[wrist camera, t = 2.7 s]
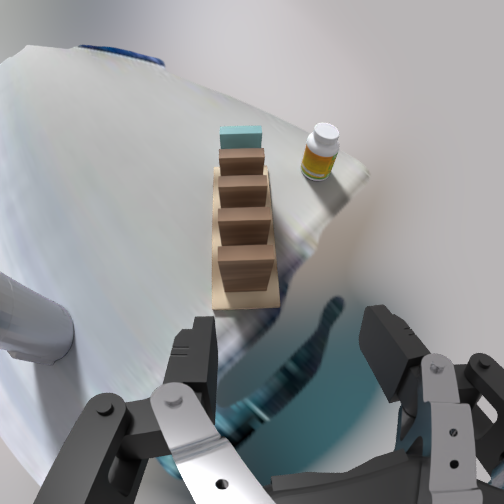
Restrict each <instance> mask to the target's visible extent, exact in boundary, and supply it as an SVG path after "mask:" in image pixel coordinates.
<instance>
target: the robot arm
mask: <svg viewBox="0 0 504 504" xmlns="http://www.w3.org/2000/svg"><path fill="white" fill-rule="evenodd" d="M73 335H74V331H73V322H72V319H71V316H70V315H69V313H68V311H67V310H66V309H65V308H64V307H63V306H61V305H59V304H57V303H56V302H54V301H52V300H49V299H48V298H46V297H44V296H42V295H40V294H38V293H36V292H35V291H33V290H31V289H29V288H27V287H25V286H24V285H22V284H20V283H18V282H17V281H15V280H13V279H12V278H10V277H8V276H7V275H5V274H3V273H2V272H0V349H3V350H7V352H8V353H9V354H10V356H11V357H12V358H14V359H19V360H24V361H29V362H34V363H40V364H46V365H53V363H54V361H55V360H58V359H60V358H62V357H63V356H64V355H65V354H66V353H67V352H68V350H69V349H70V347H71V344H72V341H73ZM359 345H360V349H361V351H362V353H363V355H364V356H365V358H366V360H367V362H368V364H369V366H370V368H371V369H372V371H373V373H374V375H375V377H376V379H377V381H378V382H379V384H380V386H381V388H382V390H383V392H384V394H385V396H386V397H387V400H388V401H389V403H392V402H396V401H401V406H400V408H399V412H398V425H397V435H396V444H395V449H394V451H393V452H390V453H387V454H384V455H381V456H378V457H375V458H373V459H371V460H369V461H367V462H365V463H363V464H362V465H360V466H358V467H356V468H354V469H352V470H350V471H348V472H344V473H317V472H305V473H298V474H289V475H280V476H272V477H271V484H269V485H266V486H263V487H262V486H261V485H260V483H259V482H258V481H257V480H256V478H255V477H254V476H253V474H252V473H251V472H250V470H249V469H248V467H247V466H246V465H245V463H244V462H243V461H242V459H241V458H240V456H239V455H238V454H237V452H236V451H235V449H234V448H233V446H232V445H231V443H230V442H229V441H228V440H227V438H225V437H224V436H223V437H221V436H220V434H219V433H218V431H217V430H216V428H215V427H214V425H215V412H216V390H217V371H218V346H217V337H216V328H215V319H214V316H206V317H195V319H194V324H193V329H182V330H181V331H180V332H179V333H178V335H177V336H176V337H175V339H174V343H173V348H172V350H171V356H170V358H169V362H168V366H167V370H166V373H165V377H164V381H163V385H161V386H159V387H158V388H156V389H155V390H154V392H153V393H152V395H151V397H150V398H147V399H144V400H139V401H133V402H126V403H125V402H124V400H123V399H122V398H121V397H120V396H118V395H116V394H113V393H102V394H98V395H96V396H94V397H93V398H91V399H90V400H89V402H88V403H87V404H86V406H85V408H84V410H83V411H82V413H81V415H80V416H79V418H78V420H77V421H76V423H75V425H74V427H73V428H72V430H71V432H70V434H69V436H68V437H67V439H66V441H65V443H64V445H63V446H62V448H61V450H60V452H59V454H58V456H57V457H56V459H55V461H54V463H53V465H52V467H51V469H50V471H49V473H48V475H47V477H46V479H45V481H44V483H43V485H42V487H41V489H40V491H39V493H38V495H37V497H36V499H35V501H34V503H33V504H134V501H135V498H136V495H137V492H138V489H139V486H140V483H141V480H142V477H143V474H144V471H145V468H146V466H147V463H148V460H149V458H154V457H160V456H165V455H171V454H172V456H173V459H174V461H175V463H176V465H177V467H178V469H179V471H180V473H181V475H182V477H183V479H184V481H185V483H186V485H187V486H188V489H189V490H190V492H191V494H192V496H193V498H194V499H195V501H196V503H197V504H504V369H503V368H502V367H501V366H500V365H499V364H498V363H497V362H496V361H494V359H493V358H491V357H490V356H488V355H486V354H483V353H476V354H474V355H472V356H471V358H470V360H469V362H468V364H460V365H453V363H452V362H451V360H449V359H448V358H447V357H445V356H443V355H441V354H431V353H430V352H429V350H428V349H427V348H426V347H425V345H424V344H423V343H422V342H421V340H420V339H419V338H418V337H417V336H416V335H415V333H414V332H413V331H412V329H410V327H409V326H408V325H407V323H406V322H405V321H404V320H403V319H401V318H400V317H398V316H396V315H395V314H393V315H392V313H391V312H390V311H389V310H388V309H387V308H386V306H385V305H374V306H367V307H366V308H365V311H364V316H363V321H362V326H361V330H360V334H359ZM482 395H483V396H484V397H485V398H486V399H487V401H488V402H489V403H490V404H491V405H492V406H493V407H494V408H495V409H496V411H497V414H498V418H497V421H496V422H495V423H492V421H491V420H490V419H489V418H488V417H487V416H486V414H485V413H484V412H483V411H482V410H481V409H480V408H479V406H478V405H477V402H478V401H479V399H480V398H481V396H482ZM476 457H477V458H478V460H479V461H480V463H481V464H482V465H483V467H484V468H485V470H486V471H487V472H488V474H489V475H490V477H491V480H490V481H489V482H488V483H485V482H483V481H480V480H478V479H476Z"/></svg>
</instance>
